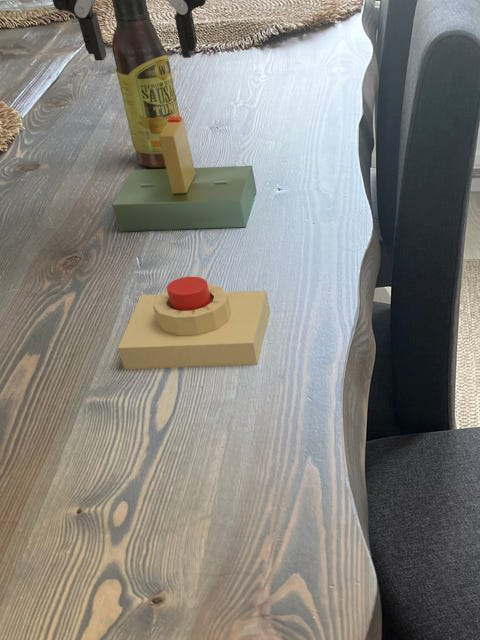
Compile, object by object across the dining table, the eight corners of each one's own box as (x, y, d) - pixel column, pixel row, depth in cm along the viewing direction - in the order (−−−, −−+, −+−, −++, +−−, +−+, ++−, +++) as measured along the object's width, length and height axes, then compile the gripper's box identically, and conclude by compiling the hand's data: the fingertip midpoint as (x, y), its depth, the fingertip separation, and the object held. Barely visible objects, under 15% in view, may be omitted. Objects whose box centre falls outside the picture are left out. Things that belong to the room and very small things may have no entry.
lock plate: (119, 231, 111) (111, 203, 109) (138, 196, 119) (130, 168, 116) (245, 227, 112) (240, 198, 109) (256, 191, 119) (251, 164, 116)
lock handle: (186, 193, 111) (172, 133, 107) (172, 193, 111) (158, 134, 107) (195, 174, 115) (183, 115, 110) (181, 174, 115) (168, 116, 110)
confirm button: (167, 313, 90) (163, 295, 89) (175, 295, 93) (170, 276, 91) (208, 312, 90) (203, 293, 89) (214, 293, 93) (210, 275, 91)
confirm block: (124, 370, 90) (111, 329, 88) (146, 316, 97) (135, 276, 95) (257, 365, 91) (249, 323, 88) (270, 311, 98) (263, 272, 95)
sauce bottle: (163, 174, 123) (118, -15, 109) (127, 165, 126) (78, -21, 111) (200, 156, 127) (161, -29, 113) (164, 148, 129) (121, -34, 115)
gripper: (5, -140, 85) (63, 71, 97) (174, -145, 86) (212, 66, 97) (27, -154, 90) (80, 48, 102) (186, -158, 91) (221, 43, 103)
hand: (144, 57), depth 100 cm, fingers open, 8 cm apart
